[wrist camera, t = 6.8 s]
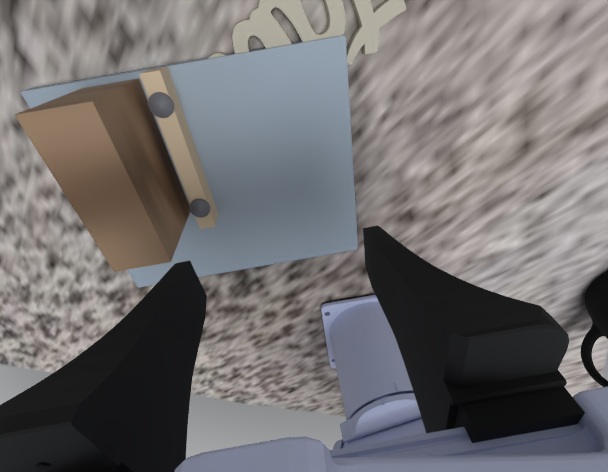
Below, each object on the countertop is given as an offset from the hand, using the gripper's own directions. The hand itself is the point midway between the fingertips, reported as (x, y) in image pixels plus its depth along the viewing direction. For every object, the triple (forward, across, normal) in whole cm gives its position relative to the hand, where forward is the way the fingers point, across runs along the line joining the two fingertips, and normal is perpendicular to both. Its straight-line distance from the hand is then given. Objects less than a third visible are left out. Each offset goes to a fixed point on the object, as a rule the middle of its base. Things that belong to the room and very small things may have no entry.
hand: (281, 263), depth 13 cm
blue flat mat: (+10, +4, 0) cm, 10 cm away
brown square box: (+9, +7, -3) cm, 12 cm away
